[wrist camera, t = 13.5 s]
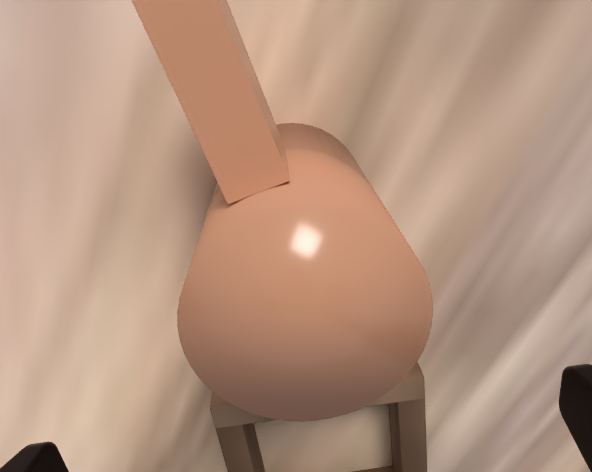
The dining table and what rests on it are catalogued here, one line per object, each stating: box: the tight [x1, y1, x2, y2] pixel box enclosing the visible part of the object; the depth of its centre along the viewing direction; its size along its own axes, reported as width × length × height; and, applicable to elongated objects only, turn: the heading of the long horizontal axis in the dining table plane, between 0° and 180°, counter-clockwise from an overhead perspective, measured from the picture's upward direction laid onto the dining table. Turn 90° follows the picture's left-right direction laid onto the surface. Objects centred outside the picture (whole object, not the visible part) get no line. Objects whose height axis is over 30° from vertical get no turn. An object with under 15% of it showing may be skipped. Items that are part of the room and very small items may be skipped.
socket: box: [210, 362, 427, 472], centre depth 24 cm, size 9×9×2 cm
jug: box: [132, 0, 433, 421], centre depth 14 cm, size 11×6×9 cm, turn 21°
